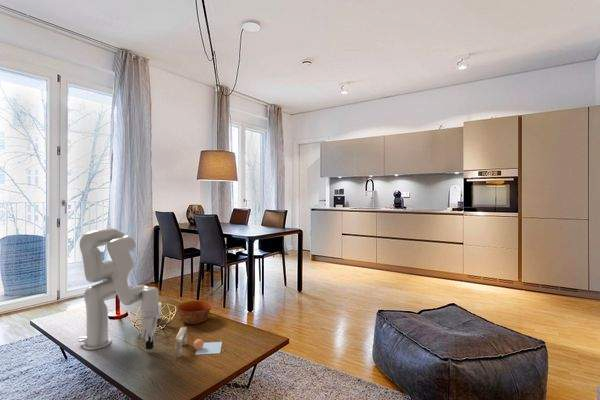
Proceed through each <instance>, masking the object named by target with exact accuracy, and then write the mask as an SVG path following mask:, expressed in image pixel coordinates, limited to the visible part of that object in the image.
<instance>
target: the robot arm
mask: <svg viewBox="0 0 600 400" xmlns="http://www.w3.org/2000/svg"><path fill="white" fill-rule="evenodd" d="M103 246H106V250H107V251H108V255H109V256H110V259H111V260H109V259H107V260H103V254H102V252H101V250H100V248H99V247H103ZM135 248H136V241H135V239H134V238H133V237H131V236H129V235H128V234H126V233H124V232H122V231H120V230H118V229H116V228H104V229H103V228H102V229H95V230H90V231H88V232H86V233H84V234H83V235H82V236H81V238H80V240H79V249H80V253H81V255H82V264H83V271H84V278H85V279H86V281H87V282H88V283H96V284H92V285H90V286H88V287H87V288H86V289H85V291H84V292H83V299H84V303H85V304H84V305H85V310H86V311H85V312H86V316H85V317H86V335H85V336H79V337H78V342H79V343H83V344H82V348H83V349H84V350H86V351H92V350H93V351H94V350H99V349H103V348H105V347H107V346H109V345H111V344H112V338H111V337H109V311H108V310H109V308H108V306H107V304H106V303H105V301H107V300H109V299H111V298H113V297H115V296H117V298H118V300H119V301H120V302H121V304H123V305H124V306H131V305H134V304H135V303H137V302H140V301H141V318H142V319H141V330H140V331H141V332H140V338H141V339H143V338H144V337H145V338H144V339H145V340H144V341H145V350H153V349H154V339H155V338H154V336H155V335H154V334H155V333H156V331H157V324H158V323H157V322H158V321H157V318H156V316H157V315H158V302H159V289H158V287H155V286H147V285H145V284H138V285H135V286H133V287H130V286H129V283H128V276H129V273H130V272H131V271H132V269H134V267H135V262H134V259H133V257H132V255H131V252H134V250H135ZM100 281H102V282H100ZM98 282H99V283H98Z"/></svg>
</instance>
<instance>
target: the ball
mask: <svg viewBox="0 0 600 400" xmlns="http://www.w3.org/2000/svg"><path fill="white" fill-rule="evenodd" d="M204 343H205V342H204V341H203V339H201V338H198V339H195V340H194V342H193V348H194V349H195V350H196V351H197V350H199V349H201V348H202V347H203V344H204Z"/></svg>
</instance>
